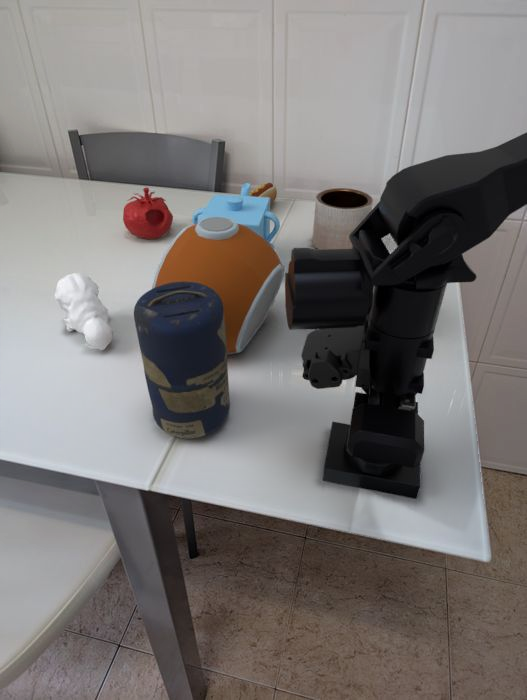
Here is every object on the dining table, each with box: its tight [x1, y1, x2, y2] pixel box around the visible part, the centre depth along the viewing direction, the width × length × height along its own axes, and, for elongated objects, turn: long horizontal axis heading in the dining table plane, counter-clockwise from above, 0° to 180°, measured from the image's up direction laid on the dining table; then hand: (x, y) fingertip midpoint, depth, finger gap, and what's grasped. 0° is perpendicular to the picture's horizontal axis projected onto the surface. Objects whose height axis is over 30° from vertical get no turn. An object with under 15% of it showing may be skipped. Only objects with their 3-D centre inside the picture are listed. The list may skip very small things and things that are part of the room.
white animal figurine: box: [54, 272, 116, 351], centre depth 72 cm, size 6×8×12 cm
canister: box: [133, 281, 231, 440], centre depth 56 cm, size 10×10×18 cm
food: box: [250, 182, 278, 206], centre depth 111 cm, size 14×6×5 cm, turn 150°
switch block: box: [322, 421, 421, 500], centre depth 55 cm, size 10×7×4 cm
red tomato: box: [122, 187, 174, 240], centre depth 100 cm, size 10×10×9 cm
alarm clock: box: [151, 217, 285, 356], centre depth 71 cm, size 19×18×17 cm
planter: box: [312, 187, 374, 250], centre depth 96 cm, size 11×11×10 cm
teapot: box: [191, 182, 281, 250], centre depth 90 cm, size 18×16×13 cm
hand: (376, 439), depth 53 cm, fingers closed, pressing on start button
